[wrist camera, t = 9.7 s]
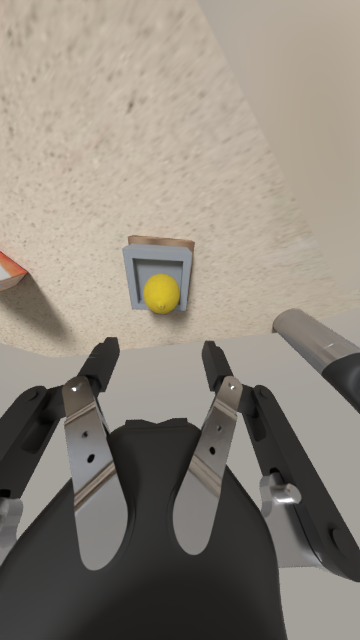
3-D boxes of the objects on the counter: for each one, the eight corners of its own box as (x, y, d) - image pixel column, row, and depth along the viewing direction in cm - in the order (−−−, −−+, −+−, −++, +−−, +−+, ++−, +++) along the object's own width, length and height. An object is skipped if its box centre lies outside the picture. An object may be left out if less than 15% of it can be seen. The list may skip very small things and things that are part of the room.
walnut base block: (191, 240, 29) (194, 242, 25) (185, 292, 36) (187, 300, 31) (133, 235, 27) (127, 236, 23) (139, 289, 34) (135, 298, 30)
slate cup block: (187, 247, 25) (192, 252, 20) (182, 296, 31) (185, 310, 25) (132, 243, 24) (122, 248, 19) (138, 294, 30) (132, 309, 24)
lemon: (163, 302, 26) (161, 329, 19) (140, 282, 23) (129, 306, 17) (184, 284, 24) (190, 307, 17) (162, 259, 21) (159, 276, 15)
